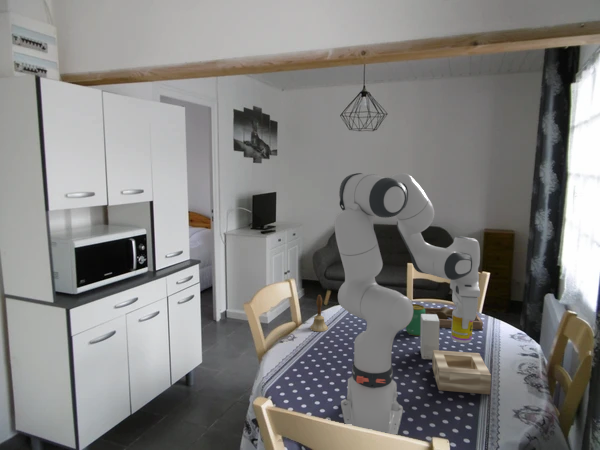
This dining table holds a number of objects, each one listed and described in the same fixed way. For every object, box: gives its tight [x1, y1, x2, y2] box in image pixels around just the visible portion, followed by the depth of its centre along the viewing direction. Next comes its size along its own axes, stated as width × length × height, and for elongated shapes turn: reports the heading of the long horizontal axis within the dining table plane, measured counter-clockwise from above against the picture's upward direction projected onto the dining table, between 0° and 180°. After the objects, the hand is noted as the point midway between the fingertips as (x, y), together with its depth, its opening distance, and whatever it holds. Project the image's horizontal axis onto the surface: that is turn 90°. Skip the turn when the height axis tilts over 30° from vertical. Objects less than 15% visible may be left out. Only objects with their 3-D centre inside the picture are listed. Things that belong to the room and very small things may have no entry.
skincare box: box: [419, 314, 440, 361], centre depth 162 cm, size 8×7×16 cm
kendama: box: [430, 306, 452, 320], centre depth 197 cm, size 6×10×20 cm
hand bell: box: [309, 294, 329, 333], centre depth 189 cm, size 8×8×16 cm
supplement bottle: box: [450, 302, 474, 344], centre depth 141 cm, size 7×7×13 cm
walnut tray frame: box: [424, 307, 484, 331], centre depth 198 cm, size 16×26×4 cm, turn 80°
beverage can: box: [405, 303, 426, 337], centre depth 184 cm, size 8×8×12 cm
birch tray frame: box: [431, 349, 492, 395], centre depth 144 cm, size 16×16×7 cm
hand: (462, 323), depth 141 cm, fingers closed on supplement bottle, 7 cm apart
